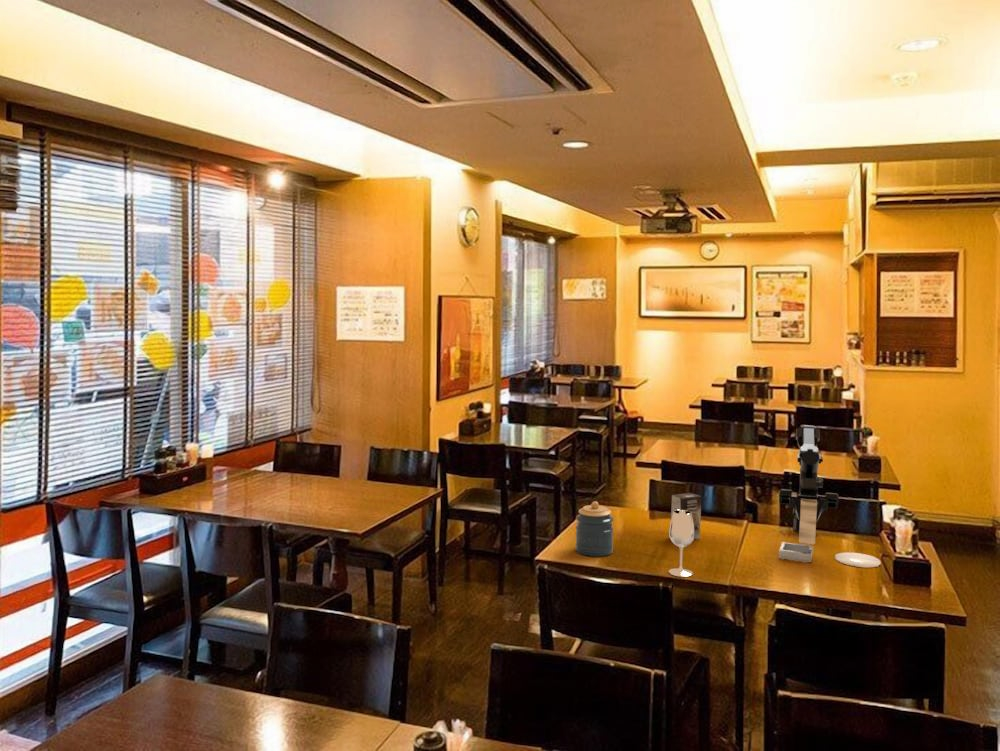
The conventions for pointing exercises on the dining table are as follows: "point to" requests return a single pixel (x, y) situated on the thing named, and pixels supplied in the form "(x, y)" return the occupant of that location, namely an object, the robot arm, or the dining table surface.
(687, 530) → the wineglass
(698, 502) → the coffee box
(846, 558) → the plate
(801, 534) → the maple block
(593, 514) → the canister
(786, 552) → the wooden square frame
